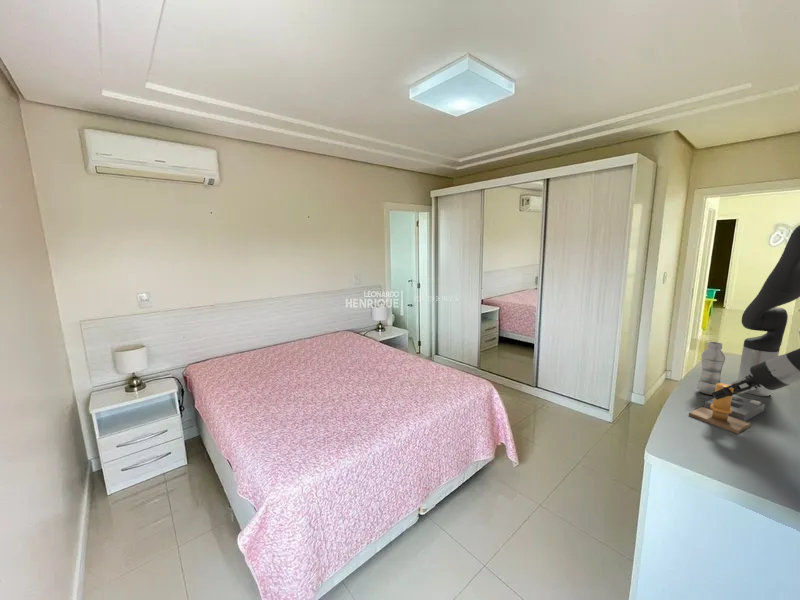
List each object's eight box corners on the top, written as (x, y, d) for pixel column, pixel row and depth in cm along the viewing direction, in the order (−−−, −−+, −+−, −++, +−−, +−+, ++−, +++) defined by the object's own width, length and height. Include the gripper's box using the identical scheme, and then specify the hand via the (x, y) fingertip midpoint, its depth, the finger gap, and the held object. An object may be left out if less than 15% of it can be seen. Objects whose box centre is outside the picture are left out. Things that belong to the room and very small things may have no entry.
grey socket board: (725, 398, 121) (726, 390, 120) (763, 410, 112) (765, 402, 112) (703, 408, 114) (705, 400, 113) (743, 422, 105) (745, 413, 104)
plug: (712, 412, 109) (717, 381, 107) (733, 419, 105) (738, 387, 103) (706, 416, 107) (711, 384, 105) (726, 423, 102) (732, 390, 101)
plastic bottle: (724, 398, 121) (733, 346, 118) (703, 396, 123) (711, 345, 120) (711, 390, 128) (719, 341, 124) (691, 389, 129) (699, 340, 126)
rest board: (701, 409, 113) (702, 406, 113) (750, 426, 103) (750, 423, 102) (688, 415, 109) (689, 412, 109) (737, 433, 99) (738, 430, 98)
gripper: (777, 356, 98) (721, 378, 110) (757, 363, 92) (700, 387, 104) (801, 379, 94) (740, 400, 106) (782, 389, 88) (719, 410, 100)
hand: (720, 393), depth 105 cm, fingers open, 8 cm apart
